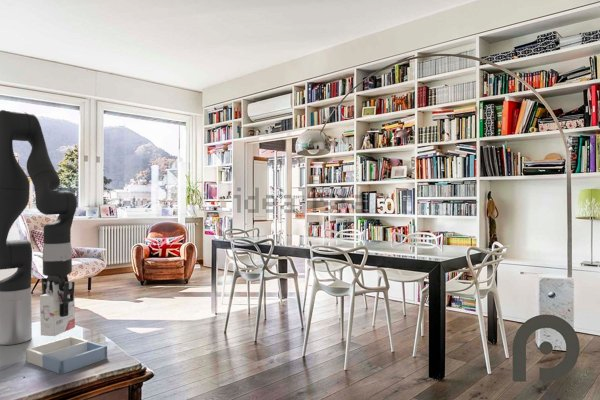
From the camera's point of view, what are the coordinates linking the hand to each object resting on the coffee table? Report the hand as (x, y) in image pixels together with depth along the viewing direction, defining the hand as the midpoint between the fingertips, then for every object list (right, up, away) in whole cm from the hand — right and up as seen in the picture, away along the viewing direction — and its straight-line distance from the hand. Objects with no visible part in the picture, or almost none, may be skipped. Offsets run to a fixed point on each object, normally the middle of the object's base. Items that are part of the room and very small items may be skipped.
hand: (57, 314), depth 129 cm
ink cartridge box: (0, -5, 0) cm, 5 cm away
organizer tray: (+4, -13, -2) cm, 13 cm away
